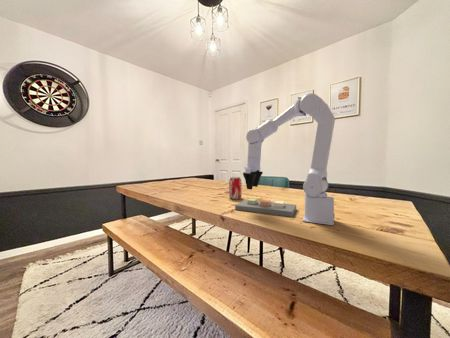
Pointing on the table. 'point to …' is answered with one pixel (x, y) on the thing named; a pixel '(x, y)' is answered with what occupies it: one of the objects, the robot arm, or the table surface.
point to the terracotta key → (265, 203)
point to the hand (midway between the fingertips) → (252, 187)
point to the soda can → (235, 188)
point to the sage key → (252, 201)
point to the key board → (267, 209)
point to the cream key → (279, 204)
